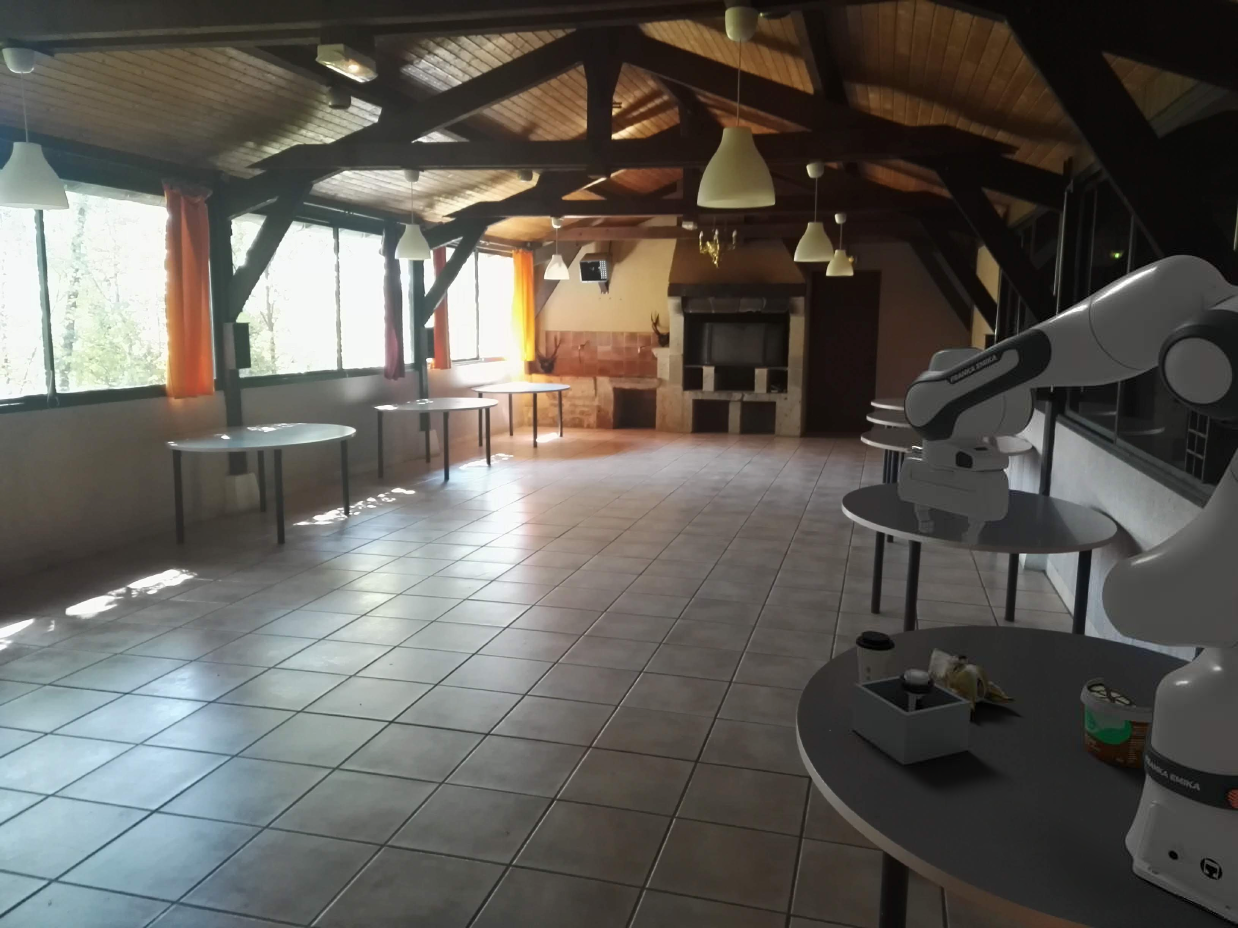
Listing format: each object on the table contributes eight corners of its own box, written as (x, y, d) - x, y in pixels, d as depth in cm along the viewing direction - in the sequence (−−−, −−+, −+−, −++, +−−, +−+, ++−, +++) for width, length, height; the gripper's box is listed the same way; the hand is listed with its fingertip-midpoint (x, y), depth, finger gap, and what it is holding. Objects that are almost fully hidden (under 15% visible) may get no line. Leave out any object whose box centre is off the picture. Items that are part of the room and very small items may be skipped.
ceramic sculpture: (957, 635, 163) (1022, 669, 150) (953, 678, 165) (1016, 715, 152) (912, 644, 159) (974, 679, 146) (908, 687, 161) (969, 726, 148)
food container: (1059, 735, 143) (1064, 677, 141) (1095, 734, 143) (1101, 676, 141) (1108, 774, 130) (1114, 710, 129) (1147, 772, 131) (1153, 709, 129)
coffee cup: (900, 691, 160) (903, 638, 158) (871, 698, 157) (874, 645, 155) (874, 677, 166) (876, 627, 164) (845, 684, 163) (847, 632, 161)
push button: (921, 746, 137) (924, 685, 135) (888, 736, 140) (891, 677, 138) (935, 731, 142) (939, 672, 140) (903, 721, 145) (906, 664, 144)
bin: (967, 749, 138) (971, 702, 136) (903, 764, 133) (906, 715, 132) (912, 717, 149) (915, 672, 148) (851, 729, 144) (854, 684, 143)
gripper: (891, 445, 145) (887, 526, 147) (986, 461, 126) (980, 554, 128) (920, 443, 148) (916, 523, 150) (1018, 458, 129) (1012, 550, 131)
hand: (946, 537), depth 139 cm, fingers open, 8 cm apart
